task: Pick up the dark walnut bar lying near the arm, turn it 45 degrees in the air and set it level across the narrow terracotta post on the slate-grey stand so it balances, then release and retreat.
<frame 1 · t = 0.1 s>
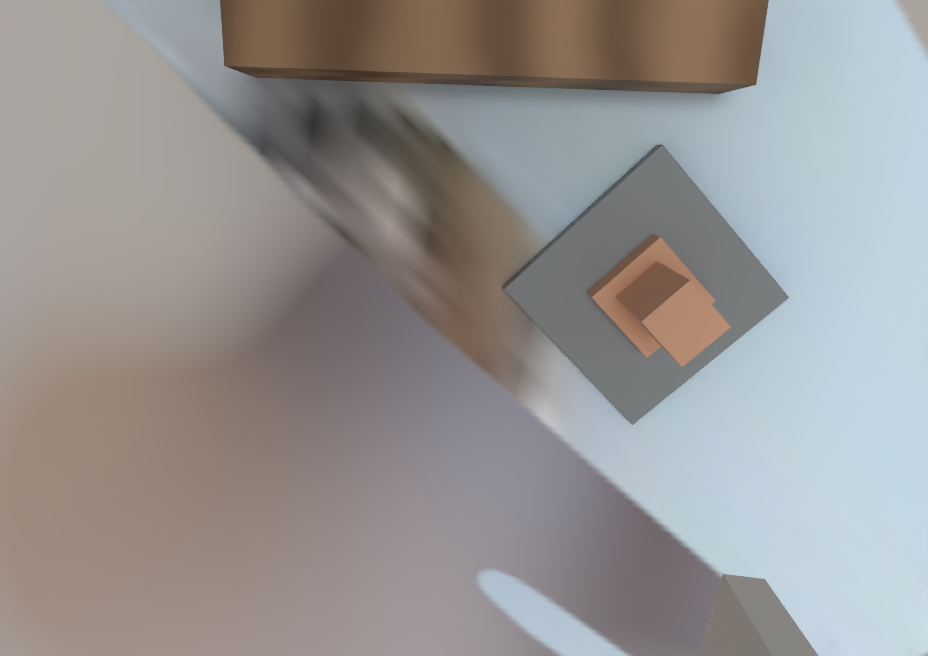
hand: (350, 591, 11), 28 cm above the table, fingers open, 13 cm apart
bar: (489, 38, 35), on the table
fulcrum: (641, 290, 38), on the table
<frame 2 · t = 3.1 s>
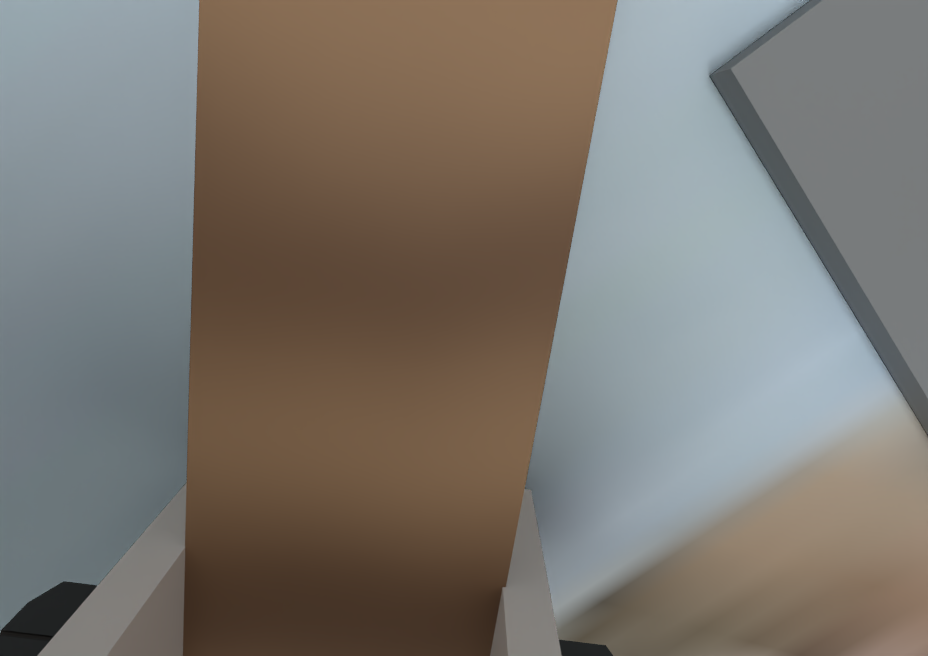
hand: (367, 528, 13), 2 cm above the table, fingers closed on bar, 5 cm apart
bar: (381, 481, 15), on the table, touching gripper
when the fingers open (11 cm above the table, at t = 8.0 s): bar stays where it is, resting on fulcrum.
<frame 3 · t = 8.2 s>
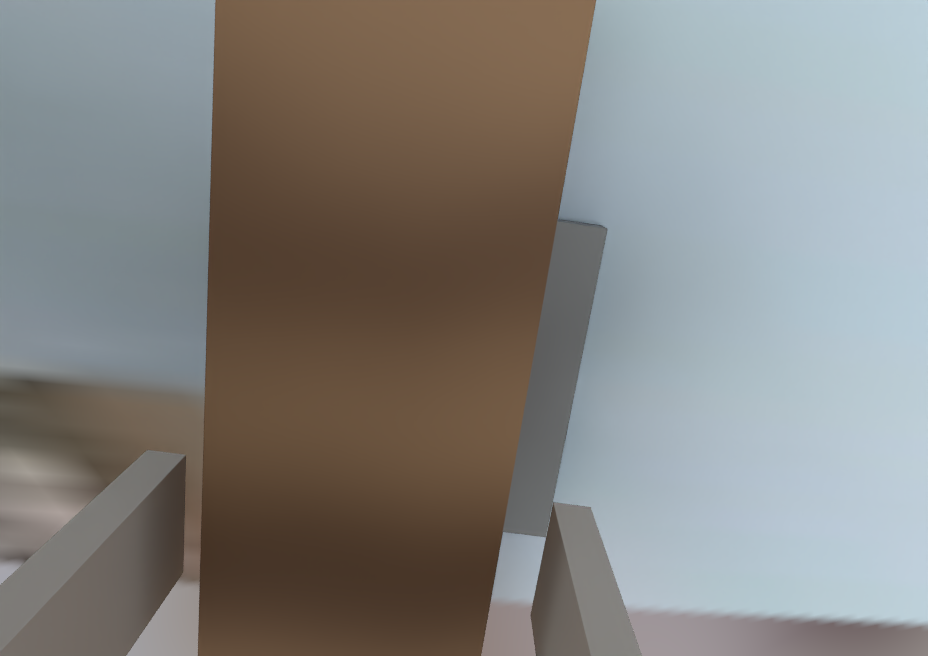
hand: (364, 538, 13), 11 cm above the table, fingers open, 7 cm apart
bar: (382, 464, 16), point 8 cm above the table, touching fulcrum
fulcrum: (412, 362, 23), on the table
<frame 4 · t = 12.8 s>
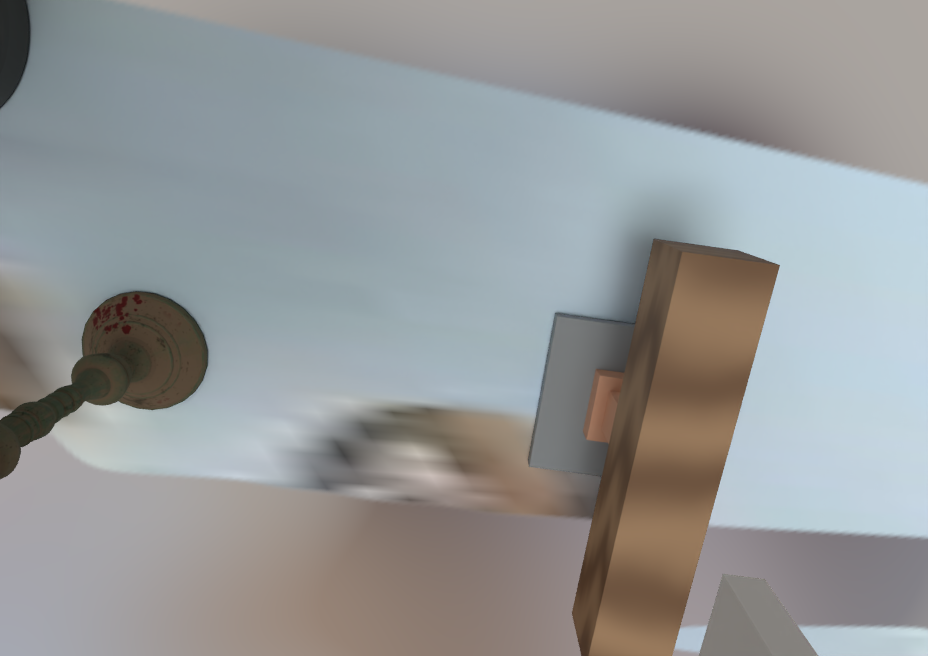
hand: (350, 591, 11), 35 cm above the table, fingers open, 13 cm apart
candlestick holder: (148, 349, 47), on the table
bar: (647, 447, 39), point 8 cm above the table, touching fulcrum
fulcrum: (619, 399, 47), on the table
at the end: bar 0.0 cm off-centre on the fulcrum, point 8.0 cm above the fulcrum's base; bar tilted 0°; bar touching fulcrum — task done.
